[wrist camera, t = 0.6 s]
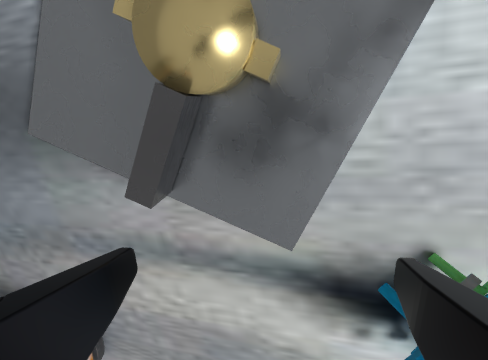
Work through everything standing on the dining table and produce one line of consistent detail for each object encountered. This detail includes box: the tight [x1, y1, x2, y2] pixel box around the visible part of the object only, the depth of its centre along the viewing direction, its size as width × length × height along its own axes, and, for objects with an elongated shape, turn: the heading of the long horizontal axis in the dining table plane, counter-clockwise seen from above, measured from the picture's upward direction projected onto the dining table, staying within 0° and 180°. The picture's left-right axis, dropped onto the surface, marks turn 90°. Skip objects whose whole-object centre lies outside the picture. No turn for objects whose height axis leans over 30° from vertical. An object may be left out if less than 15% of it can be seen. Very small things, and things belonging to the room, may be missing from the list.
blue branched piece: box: [378, 253, 488, 360], centre depth 19 cm, size 11×6×10 cm
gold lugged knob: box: [112, 0, 281, 209], centre depth 16 cm, size 16×10×3 cm, turn 157°
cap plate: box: [28, 0, 434, 251], centre depth 16 cm, size 24×24×4 cm
